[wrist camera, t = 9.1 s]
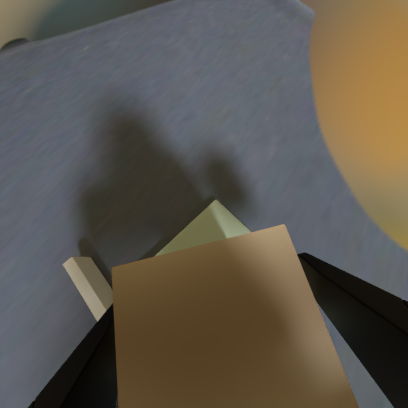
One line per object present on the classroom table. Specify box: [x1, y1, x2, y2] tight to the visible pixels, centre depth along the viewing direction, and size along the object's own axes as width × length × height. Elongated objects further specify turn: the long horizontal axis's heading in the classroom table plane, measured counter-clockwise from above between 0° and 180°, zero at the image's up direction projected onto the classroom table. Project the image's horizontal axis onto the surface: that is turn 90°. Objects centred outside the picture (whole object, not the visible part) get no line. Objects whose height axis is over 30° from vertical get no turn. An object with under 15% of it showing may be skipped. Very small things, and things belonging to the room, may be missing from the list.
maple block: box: [111, 224, 359, 408], centre depth 10 cm, size 5×5×12 cm
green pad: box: [154, 199, 251, 257], centre depth 16 cm, size 12×12×1 cm
